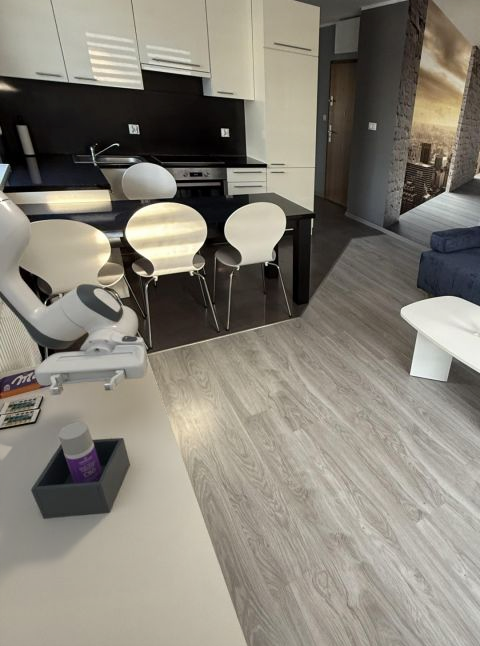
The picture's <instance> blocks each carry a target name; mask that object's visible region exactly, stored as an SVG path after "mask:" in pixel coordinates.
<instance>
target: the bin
mask: <svg viewBox="0 0 480 646" xmlns="http://www.w3.org/2000/svg"><path fill="white" fill-rule="evenodd" d="M92 440H93V443H94V446H95V450H96V453H97V457H98V460H99V463H100V467H101V470H102V475H101V477H100V479H99V482H87V483H74V481H73V478H72V475H71V472H70V469H69V466H68V464H67V461H66V458H65V455H64V451H63V448H62V445H61V444H60V445H59V446H58V447H57V449H56V451H55V452H54V453H53V455H52V457H51V458H50V460H49V461H48V463H47V464H46V466H45V467H44V469H43V470H42V472H41V474H40V475H39V477H38V478H37V480H36V481H35V483H34V484H33V486H32V488H31V489H30V491H31V493H32V496H33V498H34V501H35V503H36V505H37V508H38V510H39V512H40V514H41V516H42V518H43V519H54V518H65V517H74V516H75V517H77V516H88V515H99V514H109V513H111V511H112V509H113V506H114V503H115V501H116V499H117V497H118V494H119V492H120V490H121V487H122V485H123V483H124V481H125V478H126V475H127V473H128V471H129V468H130V466H131V463H130V459H129V455H128V451H127V447H126V442H125V439H124V437H116V438H115V437H114V438H98V439H97V438H96V439H92Z"/></svg>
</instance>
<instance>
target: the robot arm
mask: <svg viewBox="0 0 480 646" xmlns="http://www.w3.org/2000/svg"><path fill="white" fill-rule="evenodd" d="M32 231H33V229H32V223H31V222H30V219H29V218H28V216H27V215H26V214H25V212H24V211H23V210H22V209H21V208H20V207H19V206H18V205H17V204H16V203H15V202H14V201H13V200H12V199H11V198H10V197H8V195H6V193H5V192H3V191H2V190H1V189H0V299H1V300H2V302H3V303H4V304H5V305H6V306H7V307H8V308H9V310H11V312H12V313H13V314H14V316H16V317H17V319H18V320H19V321H20V322H21V323H22V326H24V328H25V330H26V332H27V333H28V335H29V336H30V338H31V339H32V340H33V342H35V343H36V344H37V345H39V346H41V347H43V348H46V349H50V350H65V349H68V348H70V347H71V346H72V345H73V344H75V342H77V341H78V340H80V338H81V337H83V336H85V335H86V334H88V336H87V338H86V339H85V341H84V342H83V344H82V345H81V347H80V349H79V351H78V350H77V351H61V352H55V353H53V354H51V355H49V356H48V357H46V358H45V359H44V360H43V361H42V362H41V363H40V364H39V365H38V366H37V367H36V368H35V369H34V377H35V380H36V382H37V383H38V384H39V385H40V386H41V387H42V386H50V387H49V393H50V396H58V395H62V393H63V391H64V387H63V385H68V384H81V383H94V382H95V383H97V382H104V383H103V387H104V391H105V392H107V391H109V392H110V391H115V388H116V387H117V386H119V385H120V384H121V383H123V382H125V380H133V379H135V380H136V379H141V378H143V377H145V376H146V375H147V373H148V369H149V365H148V364H149V363H148V353H147V352H148V351H147V346H146V344H145V340H144V338H143V337H142V336H141V337H140V336H137V333H138V329H139V318H138V315H137V314H136V311H134V310H133V309H132V308H130V307H128V306H127V305H123V304H121V303H120V301H119V299H117V297H116V296H115V295H114V294H112V293H111V292H110V291H109V290H107V289H106V288H103V287H101V286H98V285H96V284H95V285H94V284H90V283H89V284H88V283H81V284H79V285H78V286H76V287H74V288H73V289H72V290H70V291H69V292H66V293H65V294H64V295H63V296H62V297H61V298H59V299H57V300H55V301H54V302H53V303H51V304H49V305H48V306H47V305H45V304H44V303H43V302H42V301H41V300H40V298H38V296H37V295H36V294H35V292H34V291H33V290H32V289H31V288H30V287H29V285H28V284H27V283H26V281H24V279H23V278H22V275H21V274H20V264H21V260H22V258H23V256H24V254H25V252H26V250H27V249H28V247H29V246H30V242H31V240H32V235H33V234H32Z"/></svg>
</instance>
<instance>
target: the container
mask: <svg viewBox="0 0 480 646" xmlns="http://www.w3.org/2000/svg"><path fill="white" fill-rule="evenodd" d="M58 437H59V441H60V445H62V448H63V451H64V455H65V458H66V461H67V464H68V466H69V469H70V472H71V475H72V478H73V481H74V483H87V482H99V479H100V477H101V475H102V470H101V467H100V463H99V460H98V457H97V453H96V450H95V446H94V443H93V440H94V439H93V437H92V435H91V432H90V429H89V426H88V423H86V422H84V421H83V422H82V421H75V422H70V423H69V424H67V425H65V426H63V427H62V428H61V429H60V430H59V432H58Z"/></svg>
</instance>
